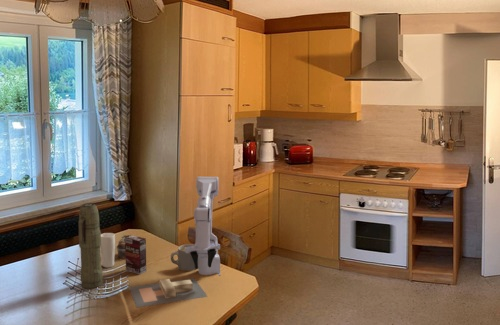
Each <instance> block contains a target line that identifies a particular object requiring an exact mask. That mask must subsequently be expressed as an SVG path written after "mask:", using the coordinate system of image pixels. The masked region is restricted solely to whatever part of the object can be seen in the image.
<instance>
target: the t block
mask: <svg viewBox="0 0 500 325" xmlns="http://www.w3.org/2000/svg"><path fill="white" fill-rule="evenodd" d="M183 280H184V279H183ZM171 281H172V280H171V279H170V278H165V279H159V283H160V288H161V290H162V292H163V294H164V296H165V298H172V297H176V293H177V292H184V291H190V290H193V283H192V282H191V280H184V281H177V280H176V281H177V282H171Z"/></svg>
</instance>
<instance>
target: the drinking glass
mask: <svg viewBox="0 0 500 325" xmlns="http://www.w3.org/2000/svg"><path fill="white" fill-rule="evenodd" d="M115 253H116V235H115V233H113V232H104V233H101V246H100V255H101V261H102V262H101V265H102V267H103V268H112V267H114V266H115Z"/></svg>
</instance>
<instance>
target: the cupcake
mask: <svg viewBox="0 0 500 325" xmlns="http://www.w3.org/2000/svg"><path fill="white" fill-rule="evenodd" d="M131 235H132V234H130V235H128V234H127V235H124V234H123V235H121V239H119V241H118V244H117V245H116V250H117V254H118V257H119V258H120V259H125V260H126V256H125V238H126V237H128V236H131Z"/></svg>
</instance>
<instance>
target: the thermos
mask: <svg viewBox="0 0 500 325" xmlns="http://www.w3.org/2000/svg"><path fill="white" fill-rule="evenodd" d="M78 216H79V219H78V221H77V222H78V226H77V227H78V228H77V229H78V246H79V249H80V264H81V265H80V266H81V268H80V271H79V276H80V283H81V284H80V285H81V286H80V287H81V288H82V289H85V290H93V289H98V288H100V287H102V286H103V284H102V283H103V268H102V267H103V266H102V262H101V261H102V255H101V247H100V246H101V234H102V232H101V226H100V214H99V210H98V207H97V205H96V204H95V203H92V202H90V203H89V202H88V203H83V204H82V205H80V207H79V211H78ZM101 285H102V286H101ZM99 286H100V287H99ZM97 287H98V288H97Z"/></svg>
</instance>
